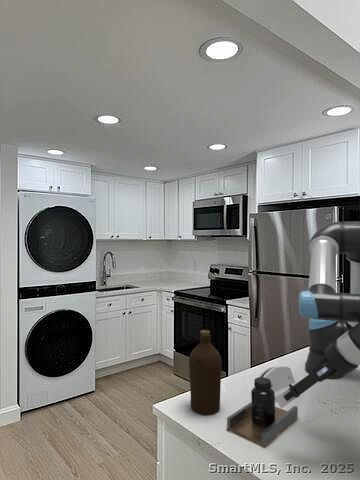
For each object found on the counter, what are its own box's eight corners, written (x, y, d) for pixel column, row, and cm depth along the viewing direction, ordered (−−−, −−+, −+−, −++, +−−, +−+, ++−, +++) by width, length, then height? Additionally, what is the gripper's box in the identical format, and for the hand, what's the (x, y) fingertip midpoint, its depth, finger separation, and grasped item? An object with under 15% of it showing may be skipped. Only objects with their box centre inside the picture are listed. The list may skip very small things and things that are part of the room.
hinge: (273, 404, 111) (264, 372, 114) (262, 404, 114) (254, 373, 117) (301, 390, 121) (292, 361, 124) (290, 390, 125) (282, 362, 127)
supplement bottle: (259, 412, 103) (259, 373, 104) (279, 420, 99) (279, 379, 99) (247, 421, 99) (246, 380, 99) (267, 430, 94) (267, 387, 94)
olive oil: (225, 415, 104) (224, 335, 104) (191, 417, 103) (191, 336, 103) (218, 399, 114) (217, 326, 114) (187, 401, 113) (186, 327, 113)
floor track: (262, 405, 110) (262, 394, 110) (297, 418, 102) (297, 406, 102) (227, 430, 96) (227, 417, 96) (264, 447, 87) (264, 434, 87)
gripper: (341, 382, 72) (277, 425, 82) (373, 353, 90) (317, 392, 100) (316, 351, 75) (258, 397, 86) (352, 330, 93) (300, 370, 104)
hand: (290, 394), depth 93 cm, fingers open, 13 cm apart
